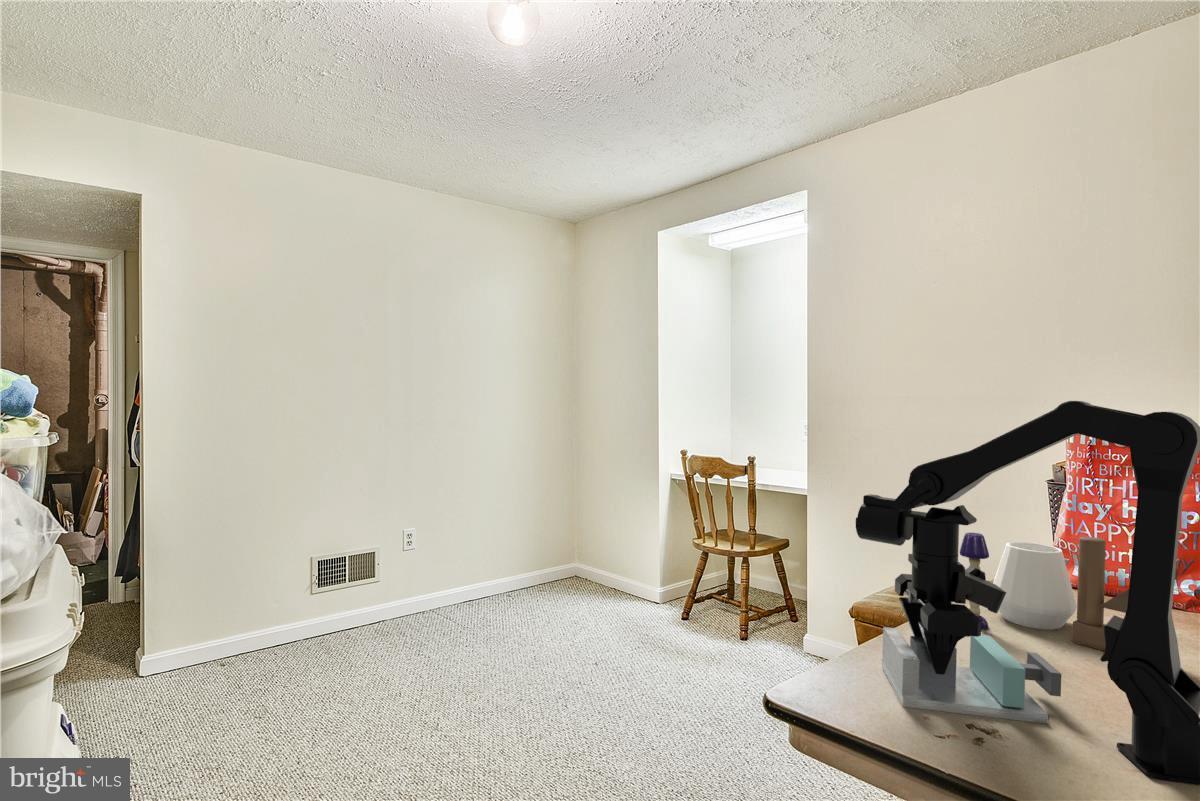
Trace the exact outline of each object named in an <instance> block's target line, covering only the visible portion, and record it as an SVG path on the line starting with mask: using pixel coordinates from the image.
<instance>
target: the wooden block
mask: <svg viewBox="0 0 1200 801" xmlns="http://www.w3.org/2000/svg"><path fill="white" fill-rule="evenodd" d="M1106 547H1107V543H1106V539H1103V538H1099V537H1095V536H1094V537H1093V536H1081V537H1079V539H1078V564H1077V566H1078V569H1077V597H1076V598H1077V601H1076V607H1077V608H1076V620H1075V621H1074V620H1073V621H1072V634H1071V635H1072V636H1071V638H1072V639H1071V640H1072V642H1073V643H1074V644H1077V645H1082V646H1085V647H1089V648H1093V649H1096V650H1100V651H1103V652H1105V648H1106V643H1105V634H1104V626H1105V625H1106V624H1107V623H1106V624H1105V623H1104V616H1105V613H1104V612H1105V609H1107V610H1111V611H1117V612H1121V613H1124V614H1126V611H1127V605H1128V595H1129V588H1127V589H1126V590H1125V591H1123V592H1121V593H1118V594H1117V595H1115V596H1114V597H1112V598H1110V599H1108V600H1107V601H1105V584H1106V581H1105V580H1106V579H1105V578H1106V577H1105V576H1106V554H1107V553H1106V549H1107V548H1106Z"/></svg>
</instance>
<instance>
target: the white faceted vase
mask: <svg viewBox="0 0 1200 801" xmlns="http://www.w3.org/2000/svg"><path fill="white" fill-rule="evenodd" d="M992 583H993V584H995V585H997V586H998V587H1000V588H1001V589H1002V590H1004V591H1005V592H1006V595H1005V597H1004V599H1003V601H1002V604H1001V606H1000V608H999V610H998V612H999V613H1000V614H1001V616H1002V618H1004V619H1005V620H1007V621H1009V622H1010V623H1013V624H1016V625H1020V626H1023V627H1027V628H1032V629H1037V630H1052V631H1053V630H1059V629H1061V628H1063V626H1064V625H1065V624H1066V623H1067V622H1068V621H1069V619H1070V618H1071V617H1072V616H1073V615H1074V613H1076V612H1077V601H1076V597H1075V595H1074V591H1073V587H1072V583H1071V579H1070V575H1069V572H1068V568H1067V564H1066V560H1065V556H1064V553H1063V550H1062V549H1061V548H1058V547H1056V546H1053V545H1048V544H1044V543H1040V542H1039V543H1038V542H1032V541H1030V542H1029V541H1010V542H1009V541H1008V542H1005V546H1004V550H1003V552H1002V556H1001V557H1000V562H999V563H998V568H997V570H996V573H995V577H994V578H993V582H992Z"/></svg>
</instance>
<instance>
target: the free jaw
mask: <svg viewBox="0 0 1200 801" xmlns="http://www.w3.org/2000/svg"><path fill="white" fill-rule="evenodd" d="M969 643H970V646H969V647H970V649H969V650H970V651H969V668H970V669H971V670H972V671H973V672H974V673H975V675H976V676H977V677H978V678H979V679H980V680H981V681H982V683H983V684H984V685H985V686H986V687H987V688H988V690H989V691H990V692H991V693H992V694H993V695H994V697H995V698H996V699H997V700H998V701H999V702H1000V703H1001V705H1002V706H1009V707H1018V708H1024V698H1025V691H1026V690H1025V689H1026V687H1025V686H1026V681H1035V683H1036V684H1038V685H1039V686H1040V687H1041V688H1042V689H1043V690H1044V691H1045V693H1047V694H1048V695H1049V696H1053V697H1060V698H1061V696H1062V672H1060V671H1059V670H1058V669H1057V668H1055V667H1054V666H1053V665H1052V664H1051V663H1049V661H1047V660H1046V659H1045V658H1044V657H1043V656H1041V655H1040V654H1039V653H1038V652H1030V651H1027V652H1026V653H1027V654H1026V656H1027V657H1026V663H1023V662H1018V661H1017V660H1016V659H1015V658H1014V657H1013V656H1012V655H1011V654H1010V653H1009V652H1008V651H1006V649H1004V648H1003V647H1002V646H1001V645H1000V644H999V643H998V642H997V641H996V640H994V638H993V637H991V635H985V634H981V636H978V637H976V636H970V642H969Z"/></svg>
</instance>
